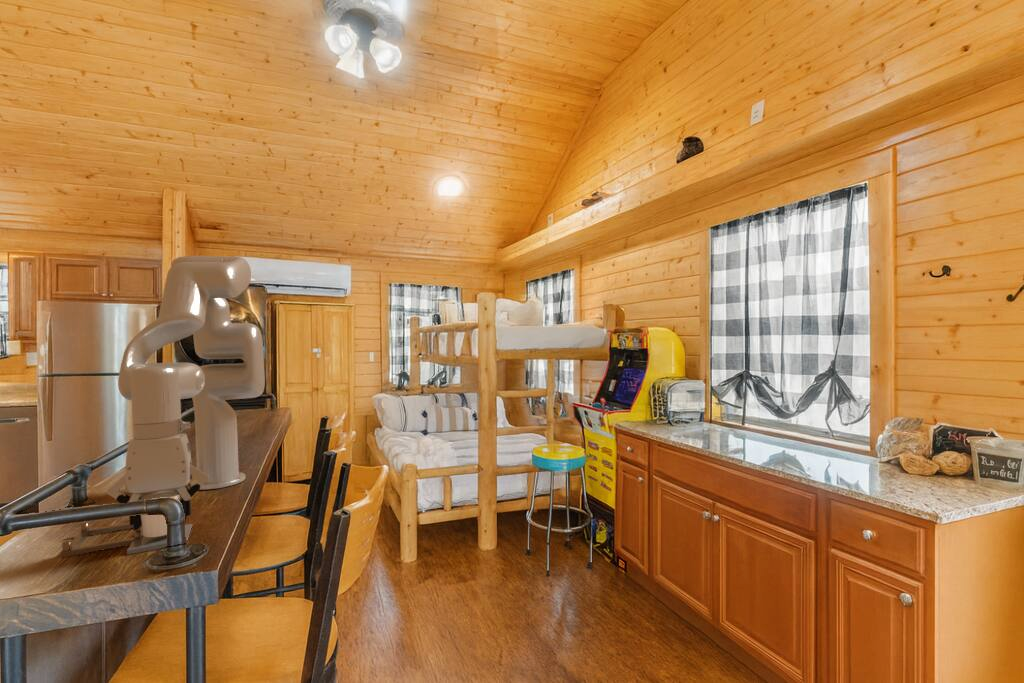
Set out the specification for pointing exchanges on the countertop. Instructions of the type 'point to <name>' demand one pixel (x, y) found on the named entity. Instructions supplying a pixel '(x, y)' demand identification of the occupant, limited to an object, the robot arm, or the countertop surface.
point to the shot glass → (156, 523)
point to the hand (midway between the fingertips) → (161, 522)
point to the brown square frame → (74, 548)
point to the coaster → (153, 542)
